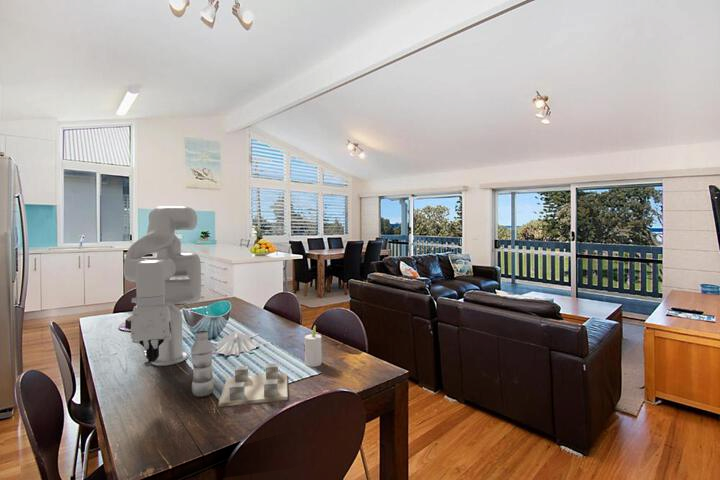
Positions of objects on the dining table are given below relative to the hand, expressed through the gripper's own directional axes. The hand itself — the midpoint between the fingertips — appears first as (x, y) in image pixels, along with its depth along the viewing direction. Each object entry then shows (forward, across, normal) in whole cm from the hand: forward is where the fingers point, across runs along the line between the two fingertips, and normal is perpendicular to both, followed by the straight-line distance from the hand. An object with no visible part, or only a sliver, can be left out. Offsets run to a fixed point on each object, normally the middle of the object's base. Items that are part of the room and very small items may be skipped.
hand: (152, 360), depth 111 cm
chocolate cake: (+13, -30, +89) cm, 95 cm away
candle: (+12, +50, +18) cm, 55 cm away
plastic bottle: (+12, +14, 0) cm, 19 cm away
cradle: (+12, +30, 0) cm, 33 cm away
